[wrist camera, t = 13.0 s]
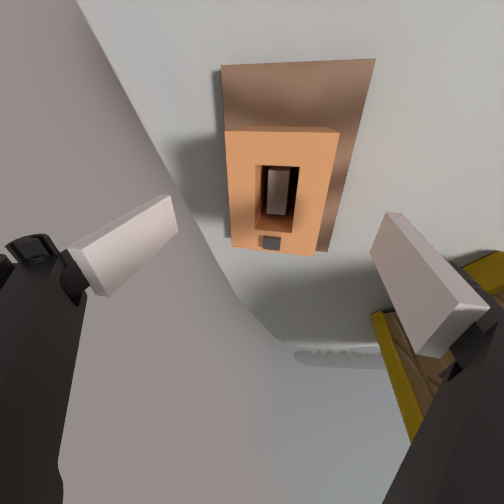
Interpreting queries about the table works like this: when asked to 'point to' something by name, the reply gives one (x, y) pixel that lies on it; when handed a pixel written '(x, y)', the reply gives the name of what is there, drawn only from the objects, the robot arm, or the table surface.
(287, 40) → the table surface
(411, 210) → the table surface
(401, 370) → the decorative book
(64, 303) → the robot arm
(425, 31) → the table surface
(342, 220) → the table surface
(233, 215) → the collar
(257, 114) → the key post base
